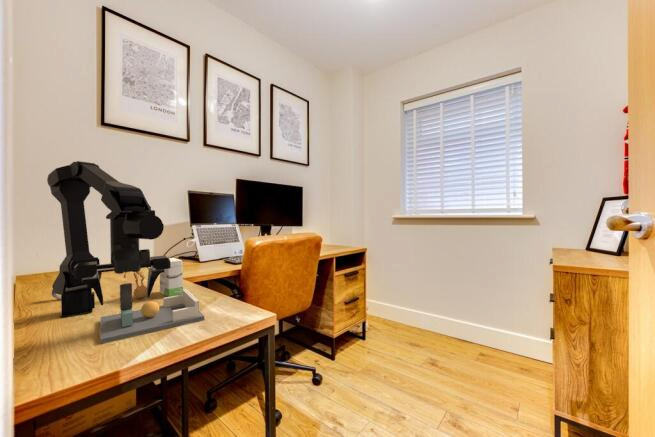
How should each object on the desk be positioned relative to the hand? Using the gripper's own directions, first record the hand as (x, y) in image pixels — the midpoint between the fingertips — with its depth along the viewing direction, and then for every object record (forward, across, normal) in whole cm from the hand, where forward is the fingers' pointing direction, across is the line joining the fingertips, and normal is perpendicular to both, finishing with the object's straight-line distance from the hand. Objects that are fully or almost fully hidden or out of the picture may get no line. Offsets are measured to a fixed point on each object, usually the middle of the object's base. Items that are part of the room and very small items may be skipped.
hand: (126, 300), depth 69 cm
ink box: (+6, +14, +24) cm, 29 cm away
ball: (+3, +5, 0) cm, 6 cm away
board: (+6, +6, 0) cm, 8 cm away
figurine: (+6, +5, +25) cm, 26 cm away
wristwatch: (+6, -14, +38) cm, 41 cm away
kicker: (+5, 0, 0) cm, 5 cm away
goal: (+5, +12, 0) cm, 13 cm away
